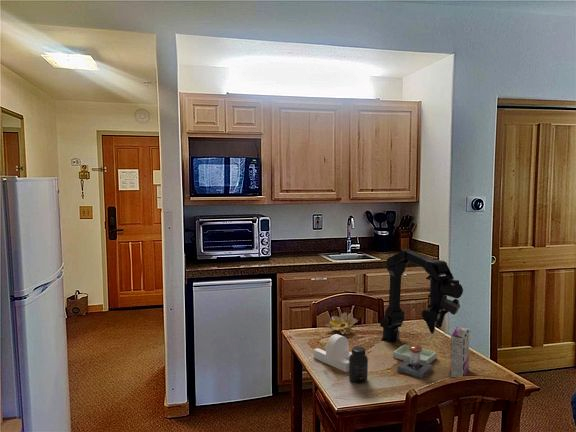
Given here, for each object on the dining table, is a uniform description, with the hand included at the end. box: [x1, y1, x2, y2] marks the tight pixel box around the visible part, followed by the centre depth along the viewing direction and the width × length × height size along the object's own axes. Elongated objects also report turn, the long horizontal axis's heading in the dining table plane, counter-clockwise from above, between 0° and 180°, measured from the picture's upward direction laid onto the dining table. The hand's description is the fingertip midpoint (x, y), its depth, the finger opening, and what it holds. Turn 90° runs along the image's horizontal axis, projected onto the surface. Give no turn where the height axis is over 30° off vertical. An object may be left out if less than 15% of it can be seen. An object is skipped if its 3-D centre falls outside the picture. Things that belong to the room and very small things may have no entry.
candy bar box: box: [450, 326, 470, 379], centre depth 160 cm, size 11×5×16 cm, turn 148°
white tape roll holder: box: [313, 333, 352, 373], centre depth 171 cm, size 18×10×11 cm, turn 41°
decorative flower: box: [325, 312, 359, 335], centre depth 206 cm, size 15×11×10 cm
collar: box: [396, 358, 433, 380], centre depth 163 cm, size 10×10×2 cm
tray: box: [392, 343, 437, 365], centre depth 175 cm, size 14×11×2 cm
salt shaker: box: [409, 344, 423, 370], centre depth 162 cm, size 5×5×10 cm
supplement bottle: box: [348, 345, 369, 385], centre depth 154 cm, size 7×7×12 cm
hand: (436, 330), depth 169 cm, fingers open, 9 cm apart
